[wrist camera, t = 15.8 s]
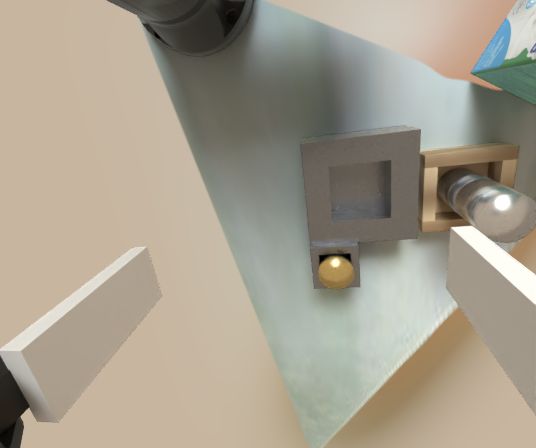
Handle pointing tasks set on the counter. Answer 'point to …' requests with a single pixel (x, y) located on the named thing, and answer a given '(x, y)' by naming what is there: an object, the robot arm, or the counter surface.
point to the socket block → (360, 191)
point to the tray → (471, 157)
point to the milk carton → (513, 53)
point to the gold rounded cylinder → (336, 271)
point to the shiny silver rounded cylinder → (488, 205)
